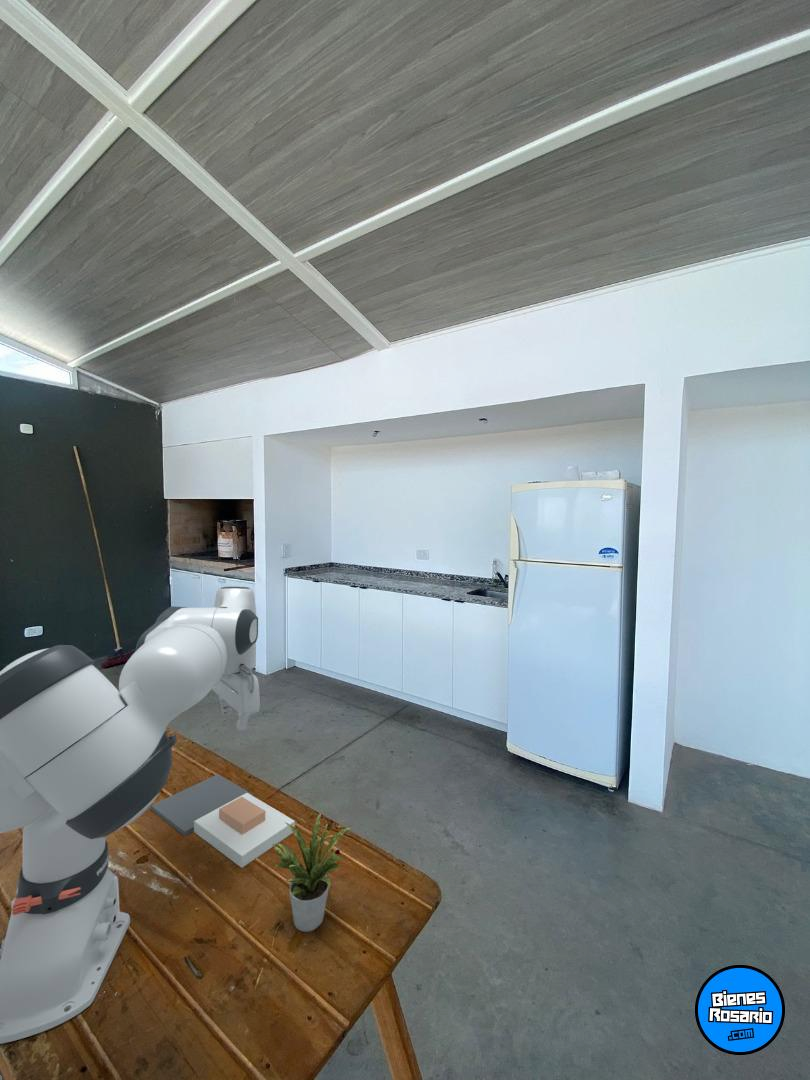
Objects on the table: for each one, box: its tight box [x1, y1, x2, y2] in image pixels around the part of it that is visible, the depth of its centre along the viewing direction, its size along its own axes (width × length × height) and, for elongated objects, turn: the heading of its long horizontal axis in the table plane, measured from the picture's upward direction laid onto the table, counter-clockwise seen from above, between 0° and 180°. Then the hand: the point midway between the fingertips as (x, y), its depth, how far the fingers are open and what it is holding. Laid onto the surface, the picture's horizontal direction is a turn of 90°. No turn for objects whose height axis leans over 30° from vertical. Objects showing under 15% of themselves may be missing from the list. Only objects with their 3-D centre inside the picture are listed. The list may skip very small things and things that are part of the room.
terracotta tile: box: [219, 797, 266, 834], centre depth 104 cm, size 9×6×2 cm, turn 55°
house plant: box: [272, 811, 355, 933], centre depth 82 cm, size 14×14×16 cm
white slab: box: [193, 793, 296, 868], centre depth 103 cm, size 18×14×2 cm
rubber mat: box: [150, 773, 254, 837], centre depth 113 cm, size 16×18×1 cm
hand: (233, 721), depth 99 cm, fingers open, 8 cm apart
